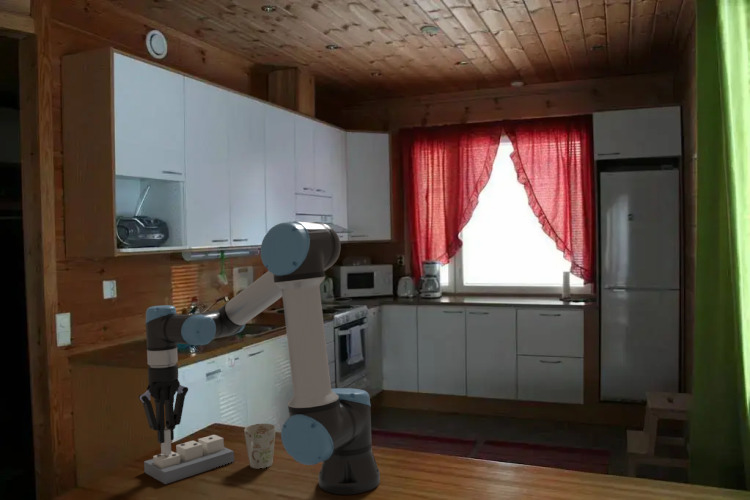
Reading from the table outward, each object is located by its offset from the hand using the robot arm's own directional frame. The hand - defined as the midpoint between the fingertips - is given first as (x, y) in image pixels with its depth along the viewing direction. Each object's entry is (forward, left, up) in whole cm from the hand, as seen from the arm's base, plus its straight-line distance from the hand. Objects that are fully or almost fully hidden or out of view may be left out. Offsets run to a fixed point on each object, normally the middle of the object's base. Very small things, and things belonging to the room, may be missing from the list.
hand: (166, 453), depth 161 cm
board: (0, -7, -5) cm, 8 cm away
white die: (0, -7, -3) cm, 7 cm away
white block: (0, -13, -3) cm, 13 cm away
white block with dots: (0, 0, -4) cm, 4 cm away
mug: (-15, -19, -6) cm, 25 cm away
